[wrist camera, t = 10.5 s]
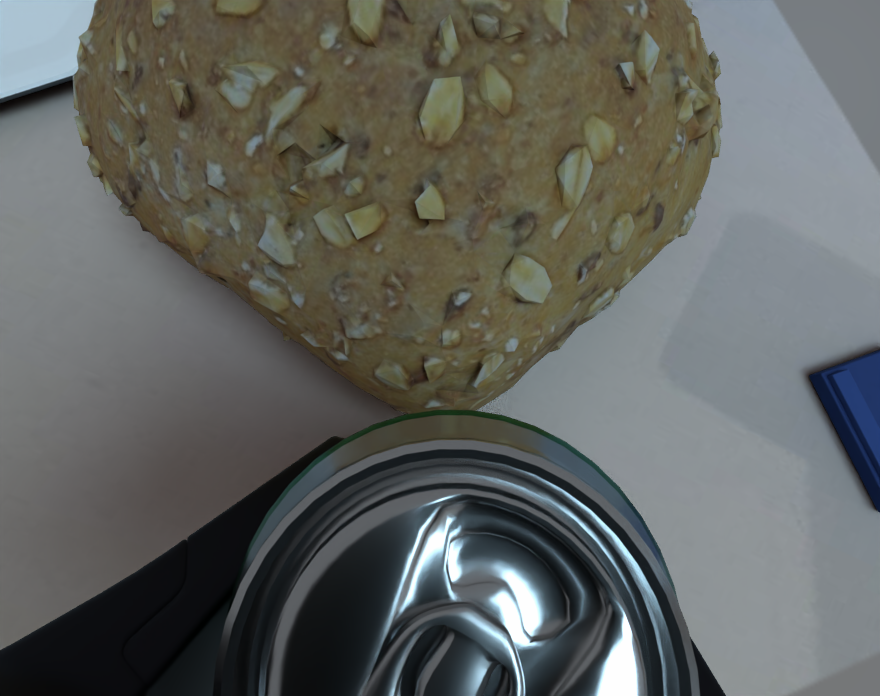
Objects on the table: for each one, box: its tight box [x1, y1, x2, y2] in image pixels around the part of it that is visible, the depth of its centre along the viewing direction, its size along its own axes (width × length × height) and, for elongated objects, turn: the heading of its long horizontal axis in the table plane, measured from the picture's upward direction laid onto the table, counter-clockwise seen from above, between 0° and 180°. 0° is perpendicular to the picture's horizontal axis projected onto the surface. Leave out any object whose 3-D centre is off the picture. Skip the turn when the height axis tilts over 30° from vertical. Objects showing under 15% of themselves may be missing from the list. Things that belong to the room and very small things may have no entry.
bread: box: [73, 0, 722, 414], centre depth 19 cm, size 24×21×12 cm
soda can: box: [213, 410, 700, 696], centre depth 10 cm, size 5×5×12 cm
